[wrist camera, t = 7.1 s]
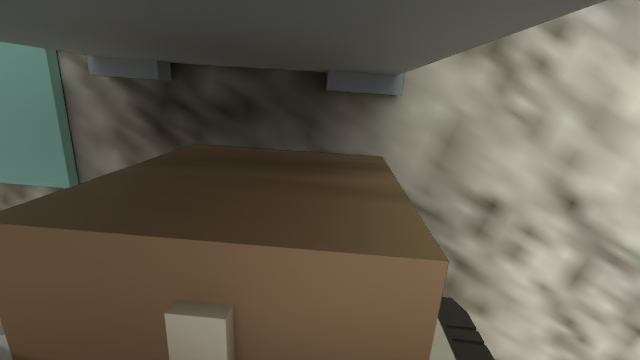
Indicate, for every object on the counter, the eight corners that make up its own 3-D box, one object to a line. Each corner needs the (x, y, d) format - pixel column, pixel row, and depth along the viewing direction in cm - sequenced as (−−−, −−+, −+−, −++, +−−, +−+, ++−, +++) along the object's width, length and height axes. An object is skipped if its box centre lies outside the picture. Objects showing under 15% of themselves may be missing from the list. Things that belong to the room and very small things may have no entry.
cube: (193, 144, 11) (-54, 230, 4) (382, 157, 11) (456, 274, 4) (204, 301, 13) (47, 540, 6) (363, 316, 13) (390, 587, 6)
